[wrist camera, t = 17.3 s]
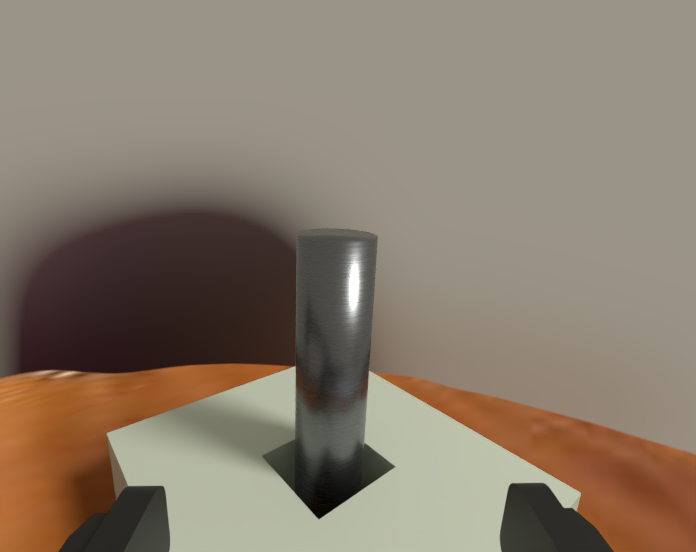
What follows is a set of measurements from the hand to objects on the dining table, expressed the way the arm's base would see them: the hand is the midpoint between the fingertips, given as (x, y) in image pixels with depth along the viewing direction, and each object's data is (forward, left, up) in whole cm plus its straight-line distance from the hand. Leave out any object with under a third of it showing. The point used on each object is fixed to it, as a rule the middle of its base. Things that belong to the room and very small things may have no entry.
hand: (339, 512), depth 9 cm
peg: (+6, +7, -11) cm, 14 cm away
